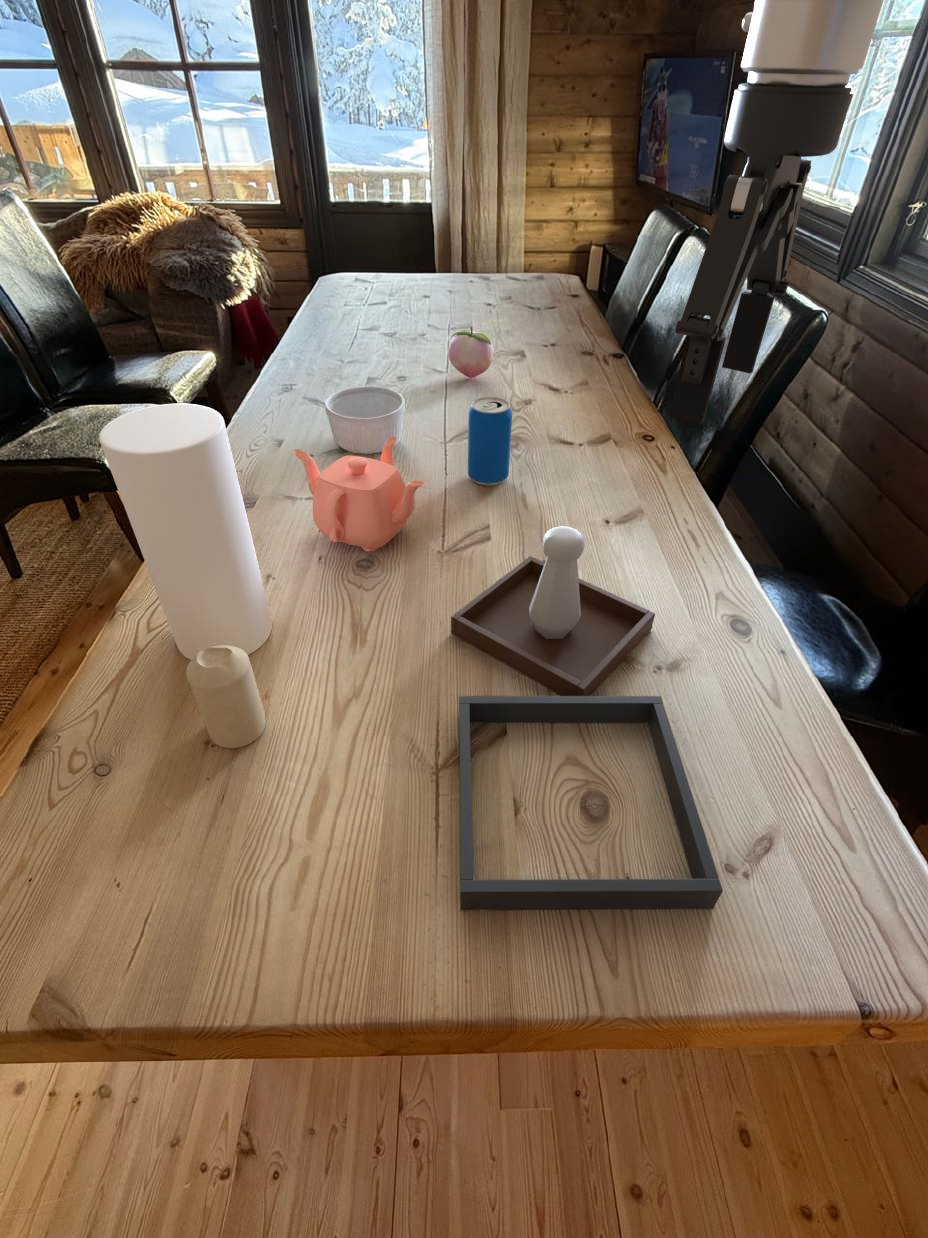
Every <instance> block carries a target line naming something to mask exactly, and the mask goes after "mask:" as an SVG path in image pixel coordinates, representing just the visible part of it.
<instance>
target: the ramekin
mask: <svg viewBox="0 0 928 1238" xmlns="http://www.w3.org/2000/svg"><path fill="white" fill-rule="evenodd" d="M405 410H406V404H405V398H404V397H403V395H402V394H400V393H399V392H397V391H396V390H394V389H391V388H388V387H382V386H375V385H362V386H361V385H360V386H353V387H348V388H344V389H340V390H338V391H336V392H334V393H332V394H330V395H329V396H328V397H327V398H326V399H325V401H324V411H325V414H326V415H327V418H328V422H329V426H330V430H331V434H332V437H333V439H334V442H335V443H336V444H337V445H338V446H339V447H340V448H341V449H343V450H345V451H346V452H350V453H352V454H353V453H354V454H361V455H372V454H378V453H382V451H383V448H384V445H385V443H386V442H387V440H388V439H390V438H391V437H396V443H395V445H394V447H395V446H397V444H398V442H400V440H401V438H402V435H403V428H404V427H403V426H404V413H405Z"/></svg>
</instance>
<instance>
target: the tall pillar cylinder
mask: <svg viewBox="0 0 928 1238" xmlns="http://www.w3.org/2000/svg"><path fill="white" fill-rule="evenodd" d="M98 438H99V443H100V446H101V449H102V451H103V453H104V457H105V459H106V461H107V465H108V467H109V469H110V473H111V475H112V477H113V480H114V483H115V485H116V488H117V490H118V493H119V496H120V499H121V503H122V505H123V507H124V510H125V512H126V515H127V518H128V520H129V523H130V526H131V528H132V530H133V533H134V537H135V538H136V540H137V544H138V546H139V549H140V552H141V555H142V557H143V559H144V562H145V565H146V568H147V571H148V573H149V576H150V578H151V582H152V585H153V587H154V589H155V591H156V594H157V597H158V600H159V602H160V605H161V607H162V610H163V613H164V616H165V618H166V621H167V624H168V626H169V629H170V632H171V635H172V637H173V639H174V642H175V645H176V648H177V649H178V651H179V653H180V654H181V655H182V656H183V657H185V658H186V659H187V660H190V661H191V660H192V659H193V658H194V657H195V656H196V655H197V654H198V652H199V651H202V650H204V649H206V648H210V647H213V646H219V645H228V646H234V647H237V648H240V649H242V650H243V651H244V652H245V653H246V654H247V655H248V656H250V655H251V654H252V653H254V652H256V651H257V650H258V649H259V648H261V647H262V646H263V645H264V644H265V643H266V642H267V640H268V639H269V638H270V635H271V633H272V630H273V620H272V617H271V612H270V607H269V603H268V599H267V595H266V591H265V587H264V582H263V578H262V573H261V570H260V565H259V562H258V556H257V552H256V549H255V545H254V540H253V536H252V532H251V527H250V523H249V519H248V515H247V512H246V506H245V502H244V498H243V494H242V491H241V486H240V482H239V477H238V473H237V469H236V465H235V461H234V456H233V453H232V447H231V443H230V440H229V435H228V431H227V426H226V423H225V419H224V417H223V416H222V414H221V413H220V412H219V411H217V410H215V409H214V408H211V407H208V406H205V405H201V404H194V403H165V404H164V403H163V404H158V405H152V406H146V407H141V408H138V409H134V410H132V411H129V412H126V413H123V414H121V415H119V416H117V417H115V418H113V419H112V420H111V421H109V422H108V423H106V425H105V426H104V427H103V428H102V429H101V430H100V432H99V437H98Z"/></svg>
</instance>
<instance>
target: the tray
mask: <svg viewBox="0 0 928 1238" xmlns="http://www.w3.org/2000/svg"><path fill="white" fill-rule="evenodd" d="M545 562H546V561H543V560H541V559H538V558H536V557H534V556H531V555H529V556H528V557H526V558H525V559H524V560H523V561H522V560H521V562H520V563H518V564H517V565H516V566H515V567H513V568H512V569H511V570H509V571H508V572H507V573H506V574H504V575H503V576H502V577H500V578H499V579H498V580H497V581H495V582H494V583H492V584H491V585H489V587H487V588H486V589H484V590H483V591H482V592H481V593H479V594H478V595H477V596H476V597H475V598H473V599H472V600H470V601H469V602H468V603H467V604H465V605H464V606H462V607H461V608H460V609H459V610H458V611H456V612H455V613H454V614H452V615H451V616H450V634H451V635H453V636H455V637H457V638H458V639H459V640H462V641H463V642H465V643H467V644H469V645H470V646H473V647H474V648H476V649H478V650H479V651H481V652H483V653H485V654H487V655H488V656H490V657H491V658H493V659H495V660H497V661H498V662H501V663H502V664H504V665H506V666H507V667H509V668H511V669H513V670H515V671H517V672H518V673H520V674H522V676H523V675H524V676H525V677H527V678H529V679H531V680H532V681H534V682H536V683H537V684H539V685H541V686H542V687H545V688H546V689H548V690H550V691H552V692H554V693H556V694H557V695H558V696H593V694H594V693H595V692H596V691H597V690H598V689H599V687H601V685H603V683H604V682H605V681H606V680H607V679H608V678H609V677H610V676H611V675H612V674H613V672H614V671H616V669H617V668H618V667H619V666H620V665H621V664H622V663H623V661H624V660H626V658H627V657H628V656H629V655H630V654H631V653H632V652H633V651H634V650H635V648H636V647H637V646H638V645H639V644H640V643H641V642H642V641H643V640H644V638H645V637H646V636H647V635H649V633H650V632H651V631H652V628H653V624H654V621H655V616H656V613H655V612H654V611H651V610H649V609H647V608H645V607H643V606H641V605H638V604H636V603H635V602H632V601H630V600H628V599H626V598H623V597H621V596H619V595H617V594H615V593H612V592H610V591H608V590H606V589H604V588H602V587H599V586H597V585H595V584H594V583H591V582H588V581H586V580H584V579H582V578H580V577H578V580H579V596H580V611H581V616H580V618H579V620H578V622H577V624H576V626H575V627H574V628H573V629H572V630H571V631H570V632H569V633H568V634H567V635H566V636H565V637H564V638H563V639H546V638H545V637H543V636H542V635H541V634H539V633H538V632H537V631H535V629H534V626H533V624H532V621H531V619H530V612H529V607H530V604H531V601H532V598H533V596H534V593H535V590H536V587H537V584H538V581H539V579H540V576H541V573H542V570H543V567H544V565H545Z"/></svg>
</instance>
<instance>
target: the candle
mask: <svg viewBox="0 0 928 1238" xmlns="http://www.w3.org/2000/svg"><path fill="white" fill-rule="evenodd" d="M186 667H187V668H186V672H185V676H186V678H187V681H188V684H189V686H190V689H191V693H192V694H193V697H194V699H195V702H196V705H197V708H198V710H199V712H200V713H199V714H200V716H201V718H202V720H203V724H204V726H205V728H206V731H207V733H208V736H209V738H210V739H211V741H212V742H213V743H214V744H215V745H217V746H219V747H221V748H224V749H239V748H242V747H245V746H247V745H250V744H251V743H253V742H255V741H256V740H257V739H259V737H260V736H261V735H262V734H263V733H264V730H265V728H266V723H267V719H266V715H265V710H264V705H263V702H262V700H261V699H262V698H261V695H260V693H259V688H258V685H257V682H256V678H255V675H254V672H253V668H252V664H251V660H250V658H249V655H247V654H246V653H245V652H244V651H243V650H242V649H240V648H237V647H234V646H228V645H219V646H213V647H210V648H206V649H204V650H202V651H199V652H198V654H197V655H196V656H195V657H194V658H193V659H192V660H190V661H189V663H188V665H187V666H186Z"/></svg>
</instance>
